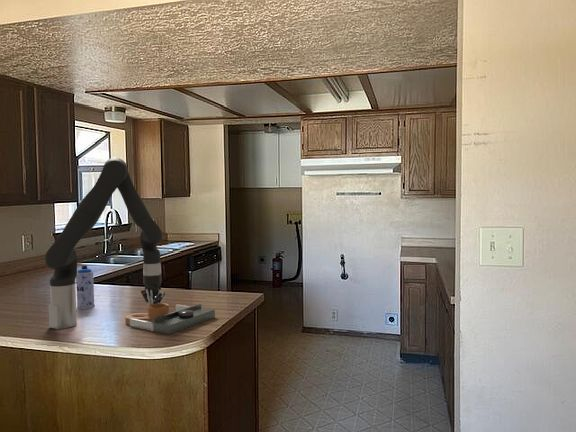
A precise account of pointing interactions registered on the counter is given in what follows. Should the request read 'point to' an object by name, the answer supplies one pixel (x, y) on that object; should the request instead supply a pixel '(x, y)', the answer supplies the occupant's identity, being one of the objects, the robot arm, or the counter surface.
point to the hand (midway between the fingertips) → (153, 312)
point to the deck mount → (176, 319)
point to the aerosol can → (85, 288)
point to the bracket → (149, 313)
